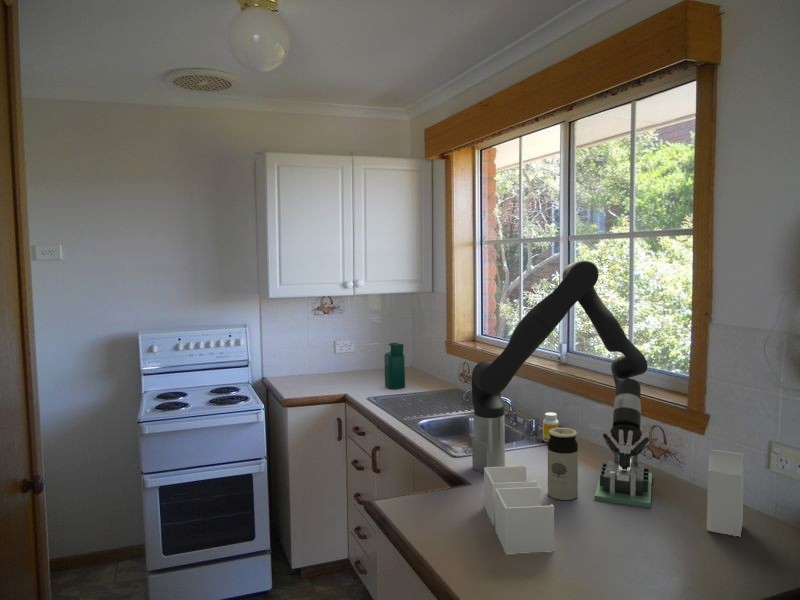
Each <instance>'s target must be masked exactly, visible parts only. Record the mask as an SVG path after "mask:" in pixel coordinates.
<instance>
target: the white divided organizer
mask: <svg viewBox="0 0 800 600" xmlns="http://www.w3.org/2000/svg"><path fill="white" fill-rule="evenodd" d="M483 476H484V477H483V479H484V480H483V483H484V484H483V487H484V488H483V489H484V490H483V491H484V496H483V497H484V500H483V501H484V509H485V508H486V509H485V510H487V511H486V513H487V512H488V513H487V516H488V515H489V516H488V518H489V517H490V518H489V520H490V519H491V520H490V522H491V521H492V522H491V525H492V524H493V525H496V526H495V533H497V534H496V535H498V536H497V538H498V537H499V538H498V540H499V539H500V540H499V542H500V541H501V543H500V545H501V544H502V545H501V547H502V546H503V547H502V549H503V548H504V549H503V551H504V550H505V552H506V553H521V552H545V551H554V552H555V505H553V503H550V505H542V487H541V486H537V484H538V483H537V480H536V479H533V480H532V481H527V466H526V465H513V466H511V465H509V466H506V465H505V467H484V473H483ZM493 525H492V526H493ZM505 552H504V553H505Z"/></svg>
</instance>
